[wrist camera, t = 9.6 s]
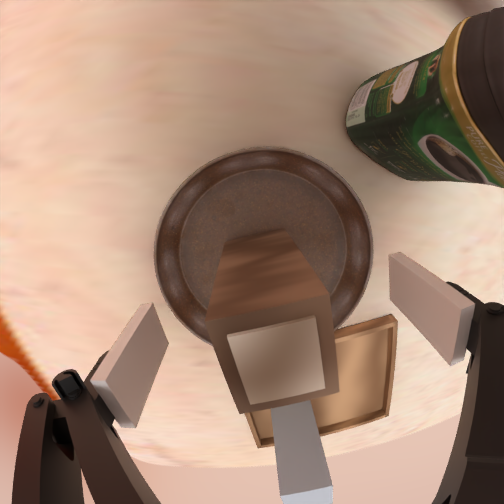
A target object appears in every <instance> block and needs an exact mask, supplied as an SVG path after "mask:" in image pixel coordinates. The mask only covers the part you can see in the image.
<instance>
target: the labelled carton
mask: <svg viewBox="0 0 504 504" xmlns="http://www.w3.org/2000/svg"><path fill="white" fill-rule="evenodd" d="M205 325H206V327H207V330H208V333H209V336H210V339H211V341H212V344H213V347H214V350H215V352H216V355H217V358H218V361H219V363H220V366H221V369H222V371H223V374H224V376H225V379H226V381H227V384H228V387H229V389H230V392H231V394H232V397H233V399H234V402H235V404H236V406H237V409H238V411H239V414H242V413H249V412H255V411H261V410H266V409H271V408H277V407H282V406H286V405H291V404H295V403H300V402H304V401H308V400H312V399H316V398H320V397H324V396H328V395H331V394H335V393H338V392H340V390H339V377H338V366H337V355H336V345H335V336H334V327H333V318H332V310H331V303H330V295H329V292H328V291H327V289H326V288H325V286H324V285H323V283H322V282H321V280H320V279H319V277H318V276H317V275H316V273H315V272H314V270H313V269H312V267H311V266H310V264H309V263H308V261H307V260H306V259H305V257H304V256H303V254H302V253H301V251H300V250H299V248H298V247H297V246H296V244H295V243H294V241H293V240H292V238H291V237H290V236H289V234H288V233H287V231H286V230H285V229H284V228H282V229H277V230H273V231H269V232H264V233H260V234H256V235H251V236H247V237H243V238H239V239H234V240H230V241H226V242H225V243H224V247H223V250H222V254H221V258H220V262H219V266H218V270H217V273H216V277H215V281H214V285H213V289H212V293H211V297H210V301H209V305H208V309H207V313H206V317H205Z"/></svg>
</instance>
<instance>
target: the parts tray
mask: <svg viewBox="0 0 504 504" xmlns="http://www.w3.org/2000/svg"><path fill="white" fill-rule="evenodd" d="M397 327H398V321H397V320H396V319H395V317H394V316H393V315H392V314H390V315H387V316H384V317H380V318H377V319H374V320H370V321H367V322H363V323H360V324H356V325H353V326H349V327H345V328H341V329H338V330H335V331H334V336H335V345H336V355H337V366H338V377H339V390H340V392H338V393H335V394H331V395H328V396H324V397H320V398H316V399H312V400H310V402H311V405H312V409H313V413H314V417H315V420H316V424H317V428H318V431H319V435H320V436H325V435H328V434H332V433H336V432H340V431H343V430H347V429H350V428H354V427H357V426H360V425H363V424H367V423H370V422H373V421H376V420H378V419H381V418H384V417H387V416H389V409H390V403H391V395H392V388H393V379H394V370H395V359H396V345H397ZM245 415H246V418H247V421H248V424H249V426H250V429H251V432H252V434H253V437H254V439H255V442H256V445H257V447H258V448H263V447H270V446H275V444H274V435H273V426H272V417H271V409H266V410H261V411H255V412H249V413H245Z"/></svg>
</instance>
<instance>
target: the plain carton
mask: <svg viewBox="0 0 504 504" xmlns="http://www.w3.org/2000/svg"><path fill="white" fill-rule="evenodd" d="M271 417H272V426H273V435H274V444H275V453H276V462H277V471H278V480H279V489H280V496H281V499H282V501H283V504H332V503H333V485H332V481H331V478H330V474H329V470H328V466H327V462H326V458H325V454H324V450H323V447H322V443H321V439H320V435H319V431H318V428H317V424H316V420H315V417H314V413H313V409H312V405H311V402H310V400H308V401H304V402H300V403H295V404H291V405H286V406H282V407H277V408H271Z"/></svg>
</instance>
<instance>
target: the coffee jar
mask: <svg viewBox="0 0 504 504" xmlns="http://www.w3.org/2000/svg"><path fill="white" fill-rule="evenodd" d="M346 128H347V132H348V134H349V136H350V138H351V140H352V141H353V143H354V144H355V145H356V146H357V147H358V148H359V149H361V150H362V151H363V152H364V153H365V154H367V155H368V156H369V157H370V158H372V159H373V160H374V161H376V162H377V163H379V164H380V165H382V166H383V167H385V168H386V169H388V170H389V171H391V172H393V173H394V174H396V175H398V176H400V177H402V178H404V179H407V180H412V181H453V182H468V183H479V184H487V185H493V186H497V187H501V188H504V7H501V8H495V9H493V10H491V12H486V13H482V14H479V15H476V16H472V17H468V18H466V19H464V20H463V21H462V22H460V23H459V24H458V25H457V26H456V27H455V28H454V30H453V31H452V32H451V34H450V35H449V37H448V39H447V41H446V43H445V45H444V46H442V47H441V48H439V49H437V50H435V51H433V52H431V53H429V54H427V55H424V56H422V57H419V58H417V59H414V60H412V61H410V62H407V63H404V64H402V65H399V66H397V67H394V68H392V69H389V70H386V71H384V72H381V73H379V74H377V75H375V76H373V77H371V78H370V79H368V80H366V81H365V82H364V83H363V84H362V85H361V86H360V87H359V89H358V90H357V92H356V93H355V95H354V97H353V98H352V101H351V103H350V106H349V108H348V112H347V116H346Z"/></svg>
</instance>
